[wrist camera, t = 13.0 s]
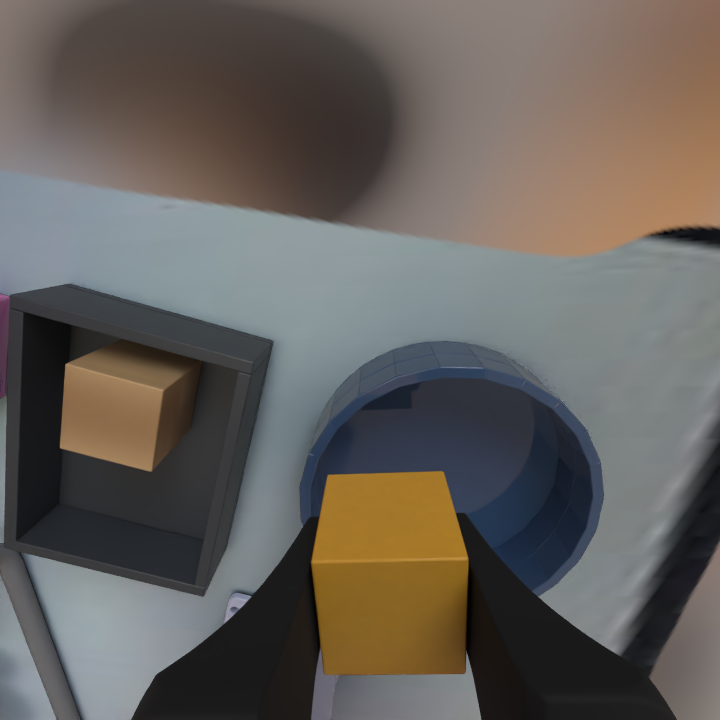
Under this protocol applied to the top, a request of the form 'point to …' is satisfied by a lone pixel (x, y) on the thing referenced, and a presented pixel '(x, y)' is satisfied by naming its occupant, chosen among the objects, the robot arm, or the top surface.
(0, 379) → the box
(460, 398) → the bowl
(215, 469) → the bin
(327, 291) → the top surface
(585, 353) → the top surface
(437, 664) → the mustard block
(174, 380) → the beech block
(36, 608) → the newton's cradle
